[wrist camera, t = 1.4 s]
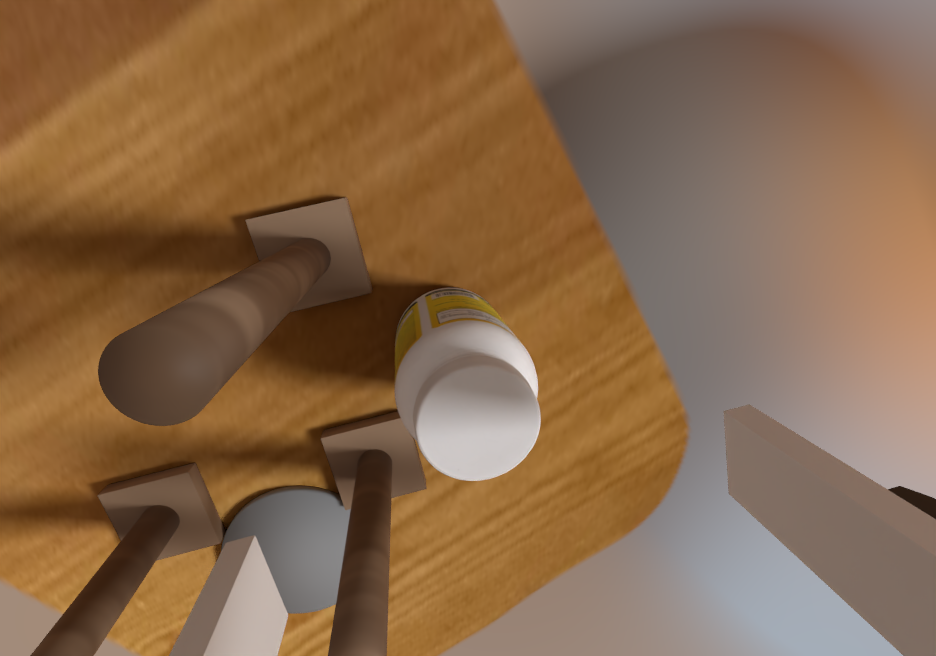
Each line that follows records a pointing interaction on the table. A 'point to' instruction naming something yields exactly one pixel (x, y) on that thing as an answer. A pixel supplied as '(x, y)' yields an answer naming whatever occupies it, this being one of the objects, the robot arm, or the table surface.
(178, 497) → the post
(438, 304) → the pill bottle
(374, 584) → the post corner
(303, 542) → the coaster
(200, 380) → the post
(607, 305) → the table surface
